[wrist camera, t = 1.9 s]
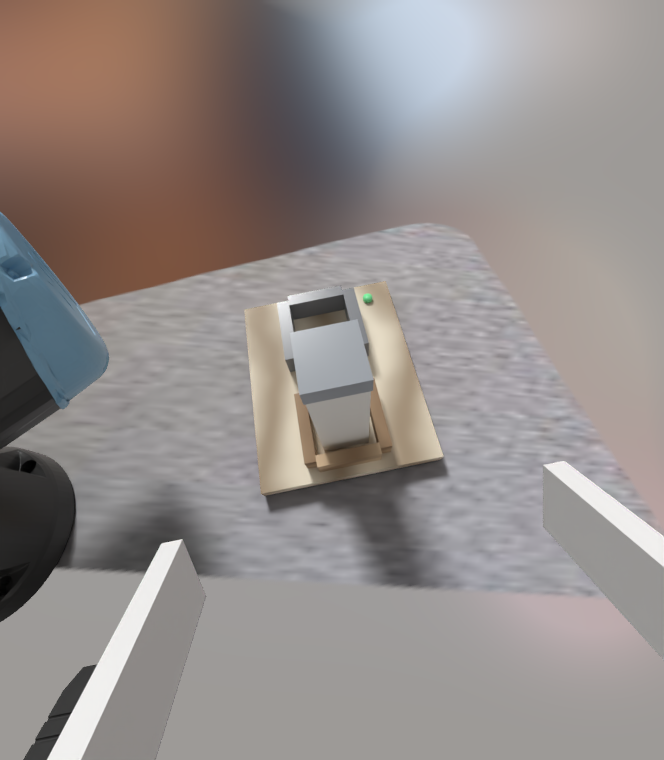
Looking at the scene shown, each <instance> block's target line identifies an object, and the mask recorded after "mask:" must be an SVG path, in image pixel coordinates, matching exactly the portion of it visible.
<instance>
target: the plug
mask: <svg viewBox="0 0 664 760" xmlns="http://www.w3.org/2000/svg"><path fill="white" fill-rule="evenodd" d="M290 338H291V344H292V351H293V357H294V364H295V370H296V376H297V383H298V389H299V395H300V398H301V400H302V402H303V405H306V407H307V409H308V412H309V414H310V417H311V419H312V422H313V424H314V427H315V429H316V432H317V434H318V437H319V439H320V441H321V444H322V446H323V449H324V451H330V450H335V449H340V448H344V447H349V446H354V445H359V444H364V443H369V422H370V400H371V391H373V382H374V379H373V376H372V372H371V368H370V364H369V361H368V357H367V353H366V349H365V346H364V342H363V338H362V334H361V331H360V327H359V323H358V319H356V320H351V321H346V322H341V323H336V324H331V325H326V326H321V327H316V328H311V329H306V330H301V331H296V332H292V333H290Z"/></svg>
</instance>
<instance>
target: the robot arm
mask: <svg viewBox="0 0 664 760" xmlns="http://www.w3.org/2000/svg"><path fill="white" fill-rule="evenodd" d="M108 362H109V354H108V350H107V347H106V345H105V343H104V341H103V339H102V338H101V336H100V334H99V333H98V331H97V330H96V328H95V327H94V325H93V324H92V323H91V321H90V320H89V318H88V317H87V316H86V314H85V313H84V311H83V310H82V309H81V307H80V306H79V305H78V303H77V302H76V301H75V299H74V298H73V297H72V296H71V294H70V293H69V292H68V290H67V289H66V288H65V286H64V285H63V284H62V283H61V281H60V280H59V279H58V278H57V276H56V275H55V274H54V273H53V271H52V270H51V269H50V268H49V267H48V265H47V264H46V263H45V262H44V260H43V259H42V258H41V257H40V256H39V254H38V253H37V252H36V251H35V250H34V248H33V247H32V246H31V245H30V244H29V242H28V241H27V240H26V239H25V238H24V237H23V235H22V234H21V233H20V232H19V231H18V230H17V229H16V228H15V226H14V225H13V224H12V223H11V222H10V221H9V220H8V219H7V218H6V217H5V216H4V215H3V214H2V213H1V212H0V622H1V621H3V620H4V619H6V618H7V617H9V616H10V615H12V614H13V613H14V612H16V611H17V610H18V609H19V608H20V607H22V606H23V605H24V604H25V603H26V602H27V601H28V600H29V599H30V598H31V597H32V596H33V595H34V594H35V593H36V592H37V591H38V590H39V588H40V587H41V586H42V585H43V584H44V582H45V581H46V580H47V578H48V577H49V575H50V574H51V572H52V571H53V569H54V568H55V566H56V564H57V563H58V561H59V559H60V557H61V555H62V553H63V551H64V548H65V546H66V543H67V541H68V538H69V535H70V531H71V527H72V522H73V516H74V495H73V490H72V486H71V483H70V480H69V478H68V476H67V474H66V473H65V471H64V470H63V468H62V467H61V466H60V465H59V464H58V463H57V462H55V461H54V460H53V459H51V458H49V457H47V456H45V455H42V454H39V453H36V452H32V451H29V450H25V449H21V448H15V447H5V446H6V445H8V444H9V443H11V442H12V441H14V440H15V439H16V438H18V437H19V436H21V435H22V434H24V433H25V432H27V431H28V430H30V429H31V428H33V427H34V426H35V425H37V424H38V423H40V422H41V421H43V420H44V419H46V418H47V417H49V416H50V415H51V414H53V413H54V412H56V411H57V410H59V409H64V408H66V407H67V406H68V404H69V401H70V400H71V399H72V398H73V397H75V396H76V395H77V394H79V393H80V392H81V391H83V390H84V389H85V388H87V387H88V386H89V385H90V384H92V383H93V382H94V381H96V380H97V379H98V378H100V377H101V376H102V374H103V373H104V372H105V370H106V369H107V366H108ZM543 527H544V528H545V530H546V531H547V532H548V533H549V534H550V535H551V536H552V537H553V538H554V539H555V541H556V542H557V543H558V544H559V545H560V546H561V547H562V548H563V549H564V551H565V552H566V553H567V554H568V555H569V556H570V557H571V558H572V559H573V560H574V562H575V563H576V564H577V565H578V566H579V567H580V568H581V569H582V570H583V572H584V573H585V574H586V575H587V576H588V577H589V578H590V579H591V580H592V582H593V583H594V584H595V585H596V586H597V587H598V588H599V589H600V590H601V591H602V593H603V594H604V595H605V596H606V597H607V598H608V599H609V600H610V601H611V603H612V604H613V605H614V606H615V607H616V608H617V609H618V610H619V611H620V613H622V615H623V616H624V617H625V618H626V619H627V620H628V621H629V622H630V624H631V625H632V626H633V627H634V628H635V629H636V630H637V631H638V632H639V634H640V635H641V636H642V637H643V638H644V639H645V640H646V641H647V642H648V644H649V645H650V646H651V647H652V648H653V649H654V650H655V651H656V652H657V653H658V654H659V656H660V657H661V658H662V659H663V660H664V536H663V535H661V534H660V533H659V532H657V531H656V530H655V529H653V528H652V527H651V526H649V525H648V524H647V523H645V522H644V521H643V520H641V519H640V518H639V517H637V516H636V515H635V514H634V513H632V512H631V511H630V510H628V509H627V508H626V507H624V506H623V505H622V504H620V503H619V502H618V501H616V500H615V499H614V498H612V497H611V496H610V495H608V494H607V493H606V492H604V491H603V490H602V489H601V488H599V487H598V486H597V485H595V484H594V483H593V482H591V481H590V480H589V479H587V478H586V477H585V476H583V475H582V474H581V473H579V472H578V471H577V470H575V469H574V468H573V467H572V466H570V465H569V464H568V463H566V462H565V461H561V462H556V463H551V464H547V465H543ZM205 597H206V595H205V592H204V590H203V588H202V585H201V583H200V580H199V578H198V575H197V573H196V570H195V568H194V566H193V563H192V561H191V558H190V556H189V553H188V551H187V549H186V546H185V544H184V541H183V539H181V540H176V541H171V542H166V543H161V545H160V547H159V549H158V551H157V553H156V555H155V557H154V559H153V560H152V562H151V564H150V566H149V568H148V570H147V572H146V574H145V576H144V577H143V579H142V581H141V583H140V585H139V587H138V589H137V591H136V593H135V594H134V596H133V598H132V600H131V602H130V604H129V606H128V608H127V610H126V612H125V613H124V616H123V617H122V619H121V621H120V623H119V625H118V627H117V628H116V630H115V632H114V634H113V636H112V638H111V640H110V642H109V644H108V645H107V647H106V649H105V651H104V653H103V655H102V657H101V659H100V661H99V662H98V664H97V665H92V666H87V667H83V668H82V670H81V671H80V672H79V673H78V674H77V675H76V676H75V678H74V679H73V680H72V681H71V682H70V683H69V685H68V686H67V687H66V688H65V689H64V690H63V692H62V694H61V696H60V697H59V699H58V701H57V703H56V704H55V706H54V708H53V709H52V711H51V713H50V715H49V716H48V718H49V719H48V721H47V722H45V723H44V725H43V727H42V728H41V730H40V732H39V734H38V735H37V737H36V741H35V744H34V745H32V746H31V748H30V749H29V751H28V753H27V754H26V756H25V758H24V760H155V759H156V756H157V753H158V749H159V746H160V743H161V740H162V736H163V733H164V730H165V727H166V724H167V720H168V717H169V714H170V711H171V707H172V704H173V701H174V698H175V694H176V691H177V688H178V685H179V682H180V678H181V675H182V672H183V669H184V665H185V662H186V659H187V655H188V653H189V649H190V646H191V643H192V640H193V636H194V633H195V630H196V627H197V623H198V620H199V617H200V614H201V610H202V607H203V604H204V601H205Z"/></svg>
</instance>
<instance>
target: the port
mask: <svg viewBox="0 0 664 760" xmlns="http://www.w3.org/2000/svg"><path fill="white" fill-rule="evenodd" d="M363 301H364V302H365V303H370V302H372V295H371V294H365V295H364V296H363ZM277 308H278V315H279V321H280V328H281V335H282V342H283V349H284V356H285V361H286V363H287V366H288V368H289V371H290V372H293V371H296V370H295V364H294V357H293V351H292V344H291V338H290V333H292V332H296V331H295V325H294V320H295V319H300V318H305V317H310V316H315V315H320V314H325V313H330V312H335V311H340V310H345V313H346V317H347V321H351V320H356V319H358V323H359V327H360V331H361V334H362V338H363V342H364V346H365V349H366V353H367V356H369V341H368V338H367V334H366V331H365V327H364V323H363V320H362V316H361V312H360V309H359V305H358V301H357V298H356V294H355V290H354V288H349V289H344V290H342V287H341V286H336V287H331V288H326V289H321V290H316V291H311V292H306V293H301V294H296V295H291V296H288V301H284V302H279V303H277Z"/></svg>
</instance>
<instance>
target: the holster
mask: <svg viewBox="0 0 664 760" xmlns="http://www.w3.org/2000/svg"><path fill="white" fill-rule="evenodd" d="M373 379H374V378H373ZM294 398H295V404H296V411H297V418H298V424H299V431H300V438H301V445H302V451H303V458H304V464H305V465H306V467H307V468H308V469H309V468H314V467H317V468H318V469H319V471H320V472H323V471H328V470H333V469H338V468H343V467H348V466H353V465H357V464H362V463H367V462H372V461H377V460H381V457H382V453H387V452H391V449H392V442H391V439H390V435H389V431H388V427H387V424H386V420H385V416H384V412H383V409H382V405H381V401H380V398H379V394H378V390H377V386H376V383H375V379H374V382H373V391H371V400H370V418H371V422H372V426H373V430H374V434H375V438H376V442H377V443H373V444H369V445H364V446H359V447H354V448H349V449H344V450H339V451H334V452H330V453H325V454H320V455H317V451H316V445H315V439H314V433H313V427H312V421H311V417H310V414H309V412H308V409H307V407H306V405H303V402H302V400H301V398H300V395H299V393H297V394H294Z"/></svg>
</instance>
